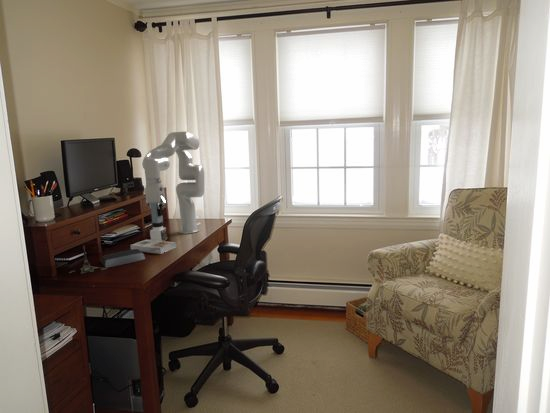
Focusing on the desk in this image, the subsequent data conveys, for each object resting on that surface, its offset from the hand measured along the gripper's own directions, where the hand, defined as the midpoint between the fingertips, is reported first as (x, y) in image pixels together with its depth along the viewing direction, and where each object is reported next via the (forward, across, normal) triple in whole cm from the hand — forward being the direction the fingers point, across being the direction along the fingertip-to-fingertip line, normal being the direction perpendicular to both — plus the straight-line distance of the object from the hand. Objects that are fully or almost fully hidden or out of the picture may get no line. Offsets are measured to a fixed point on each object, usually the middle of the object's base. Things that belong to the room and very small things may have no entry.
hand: (157, 215), depth 215 cm
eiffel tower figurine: (+20, +10, +38) cm, 44 cm away
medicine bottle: (+20, +16, -15) cm, 29 cm away
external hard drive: (+20, +5, +21) cm, 30 cm away
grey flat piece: (+19, +5, 0) cm, 20 cm away
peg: (+4, 0, 0) cm, 4 cm away
